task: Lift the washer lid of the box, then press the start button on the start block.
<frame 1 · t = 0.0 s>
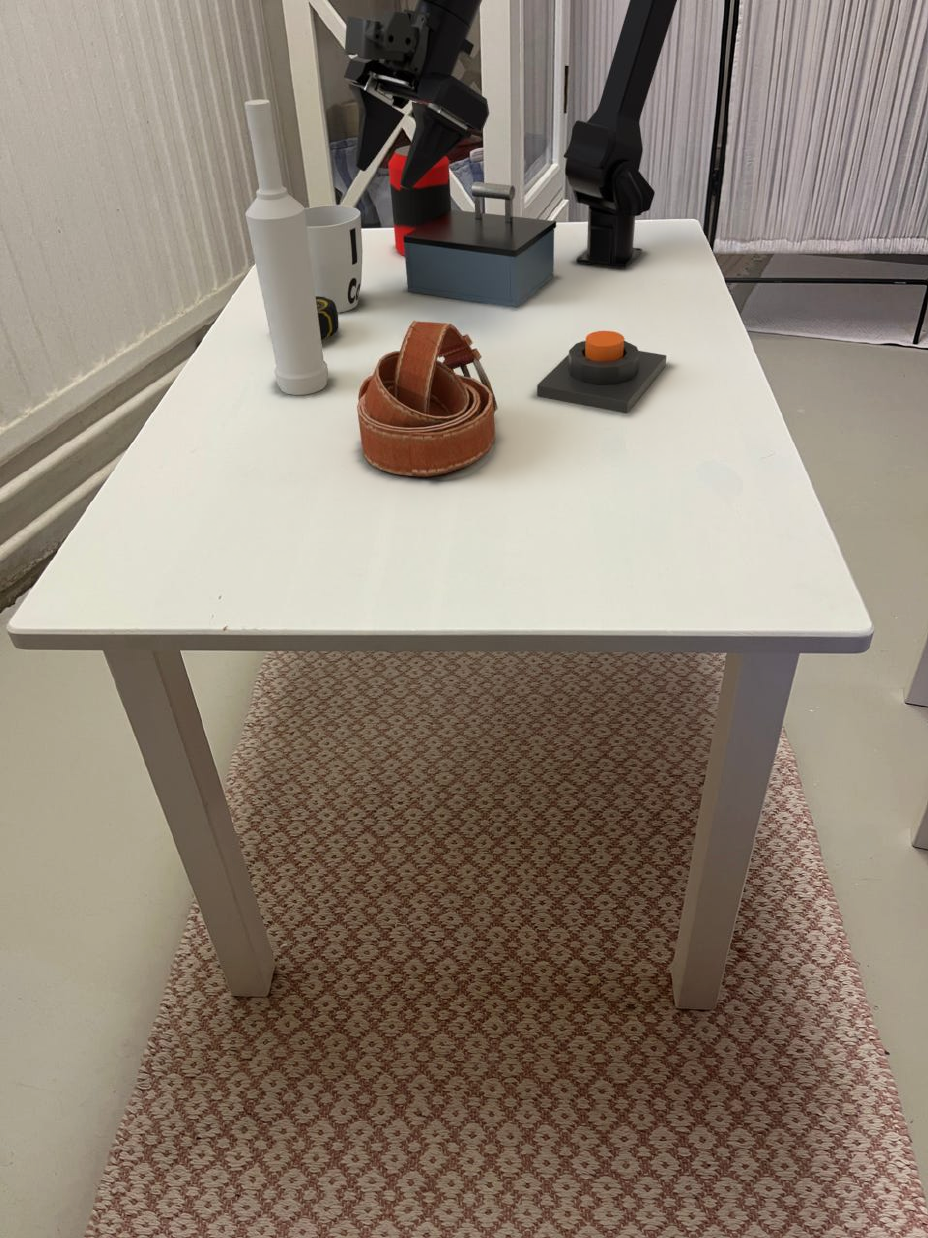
hand: (381, 178, 94), 15 cm above the table, tool tilted 35°, fingers open, 9 cm apart
tape measure: (305, 337, 102), on the table
washer lid: (479, 213, 106), point 8 cm above the table, hinge at 0.0°
box: (481, 284, 111), on the table
soda can: (424, 250, 123), on the table
start block: (602, 381, 90), on the table
start button: (604, 346, 88), point 3 cm above the table, slide at 0.1 cm
cup: (335, 306, 109), on the table
bottle: (303, 386, 92), on the table
belt: (426, 441, 82), on the table
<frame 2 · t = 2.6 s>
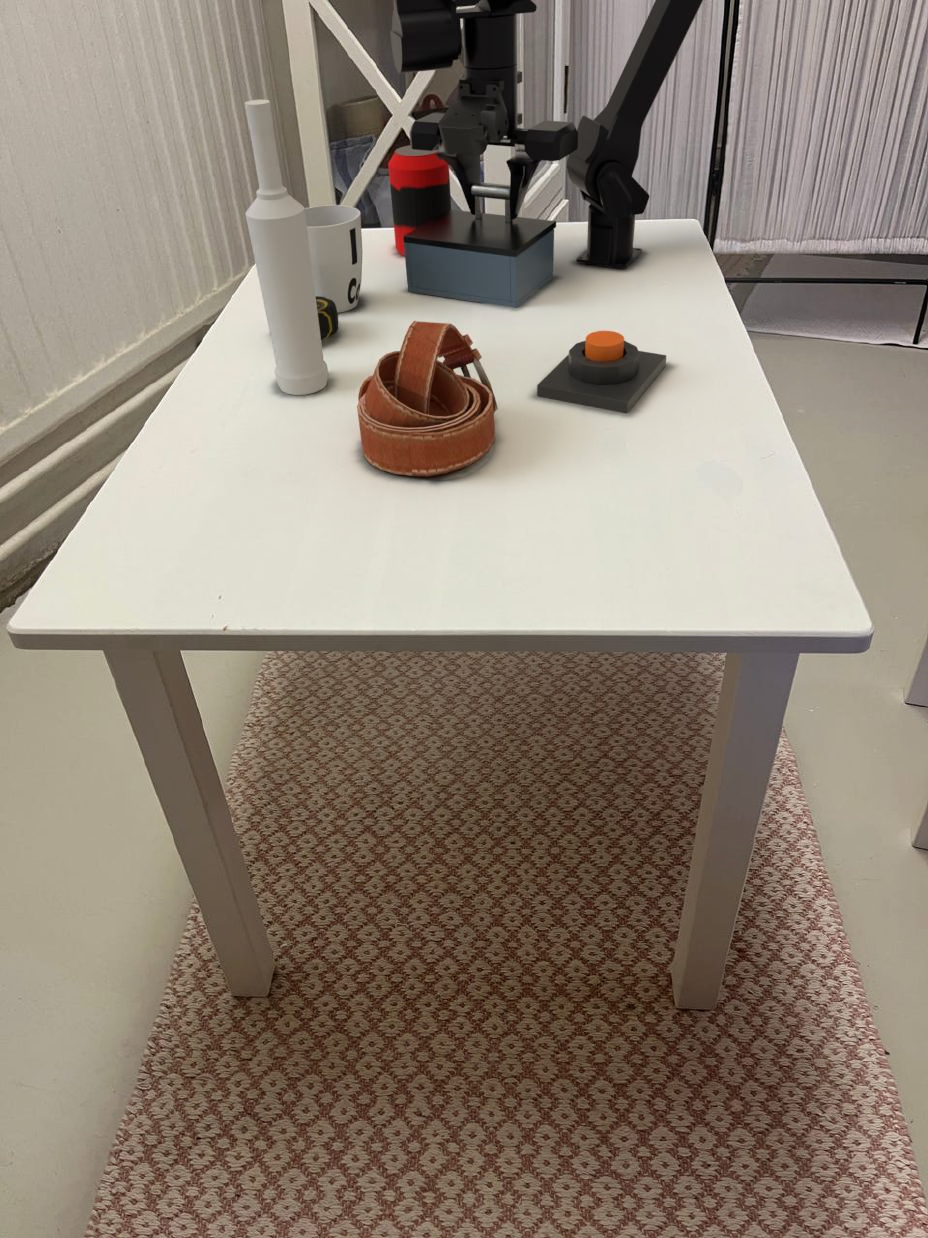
hand: (494, 216, 110), 7 cm above the table, tool pointing down, fingers closed on washer lid, 5 cm apart
washer lid: (479, 213, 106), point 8 cm above the table, hinge at 0.0°, touching gripper
everything else where it was.
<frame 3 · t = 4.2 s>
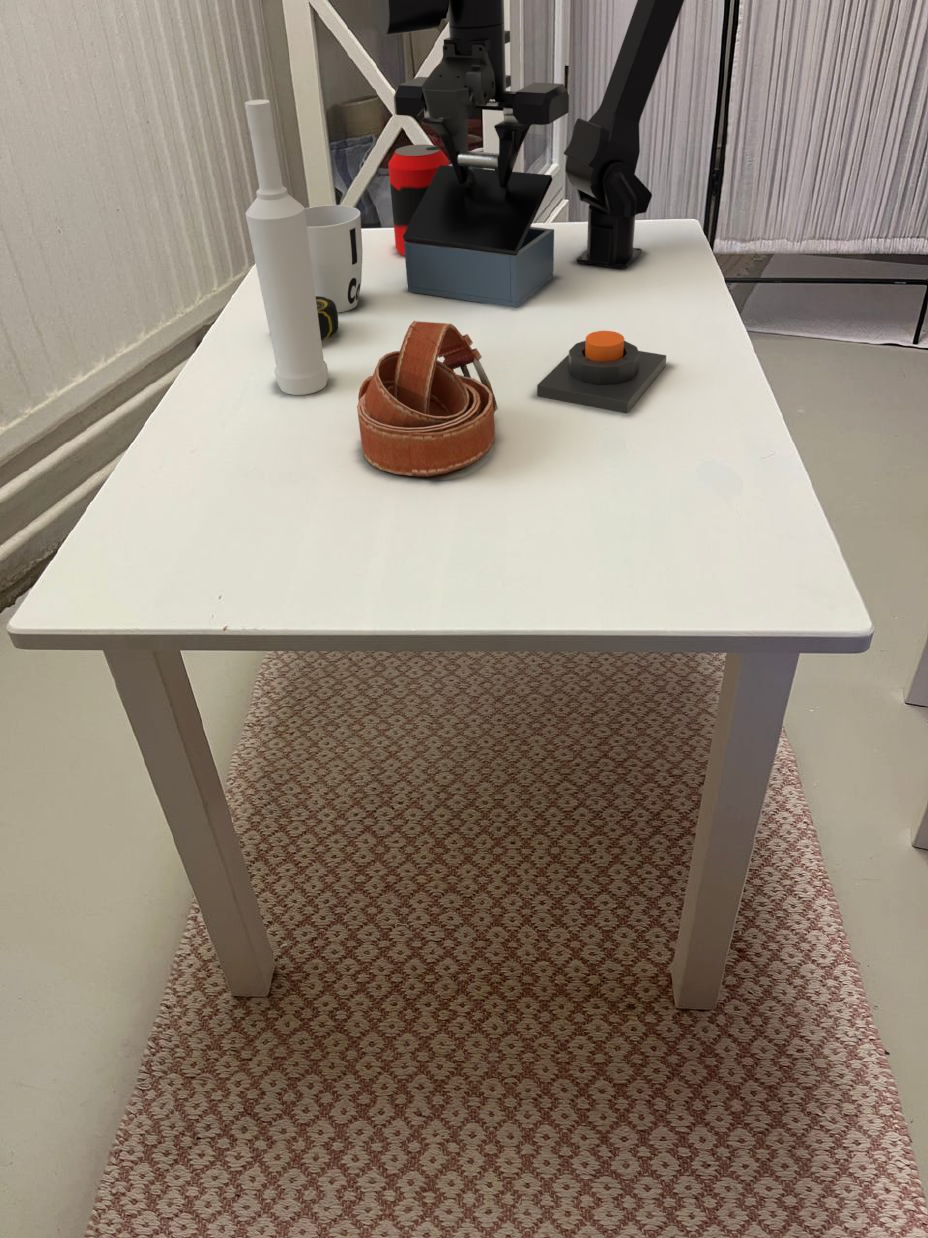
hand: (483, 184, 105), 11 cm above the table, tool pointing down, fingers closed on washer lid, 5 cm apart
washer lid: (472, 194, 104), point 11 cm above the table, hinge at 29.8°, touching gripper
everything else where it was.
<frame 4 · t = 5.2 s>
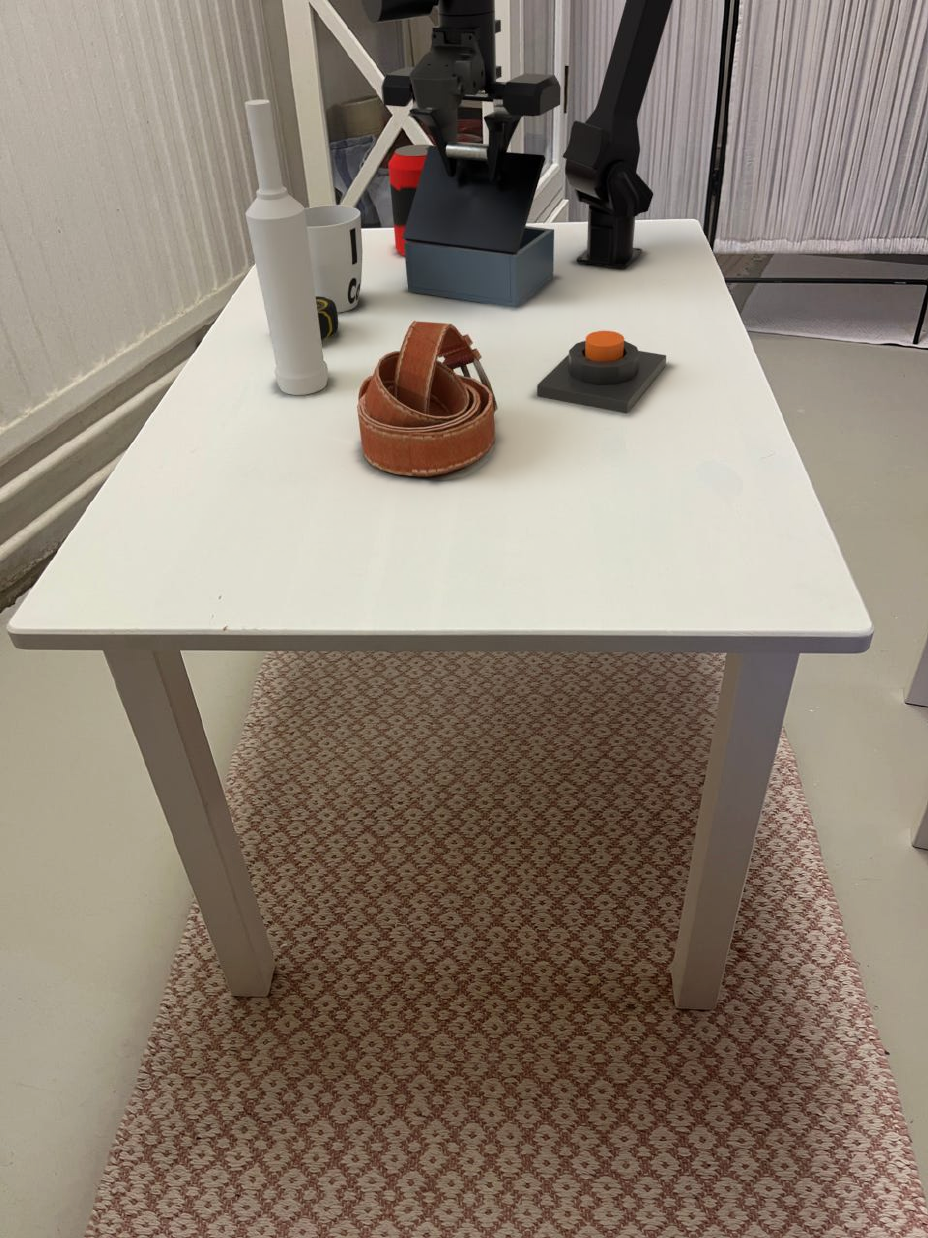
hand: (472, 178, 103), 12 cm above the table, tool pointing down, fingers closed on washer lid, 5 cm apart
washer lid: (465, 189, 102), point 11 cm above the table, hinge at 47.3°, touching gripper
everything else where it was.
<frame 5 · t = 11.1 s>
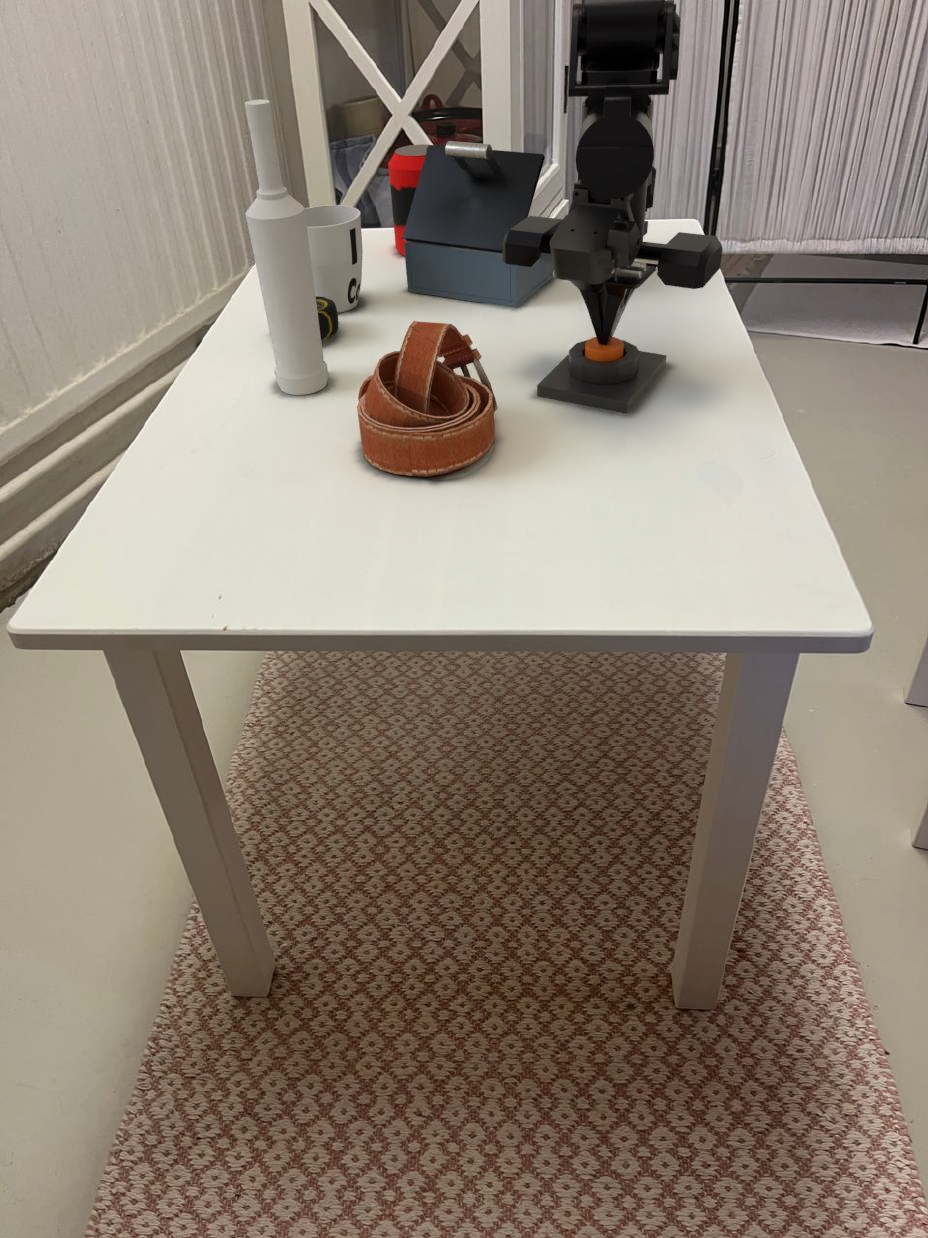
hand: (604, 343, 87), 4 cm above the table, tool pointing down, fingers closed, pressing on start button
washer lid: (465, 189, 102), point 12 cm above the table, hinge at 48.3°
start button: (604, 352, 88), point 3 cm above the table, slide at -0.4 cm, touching gripper
everything else where it was.
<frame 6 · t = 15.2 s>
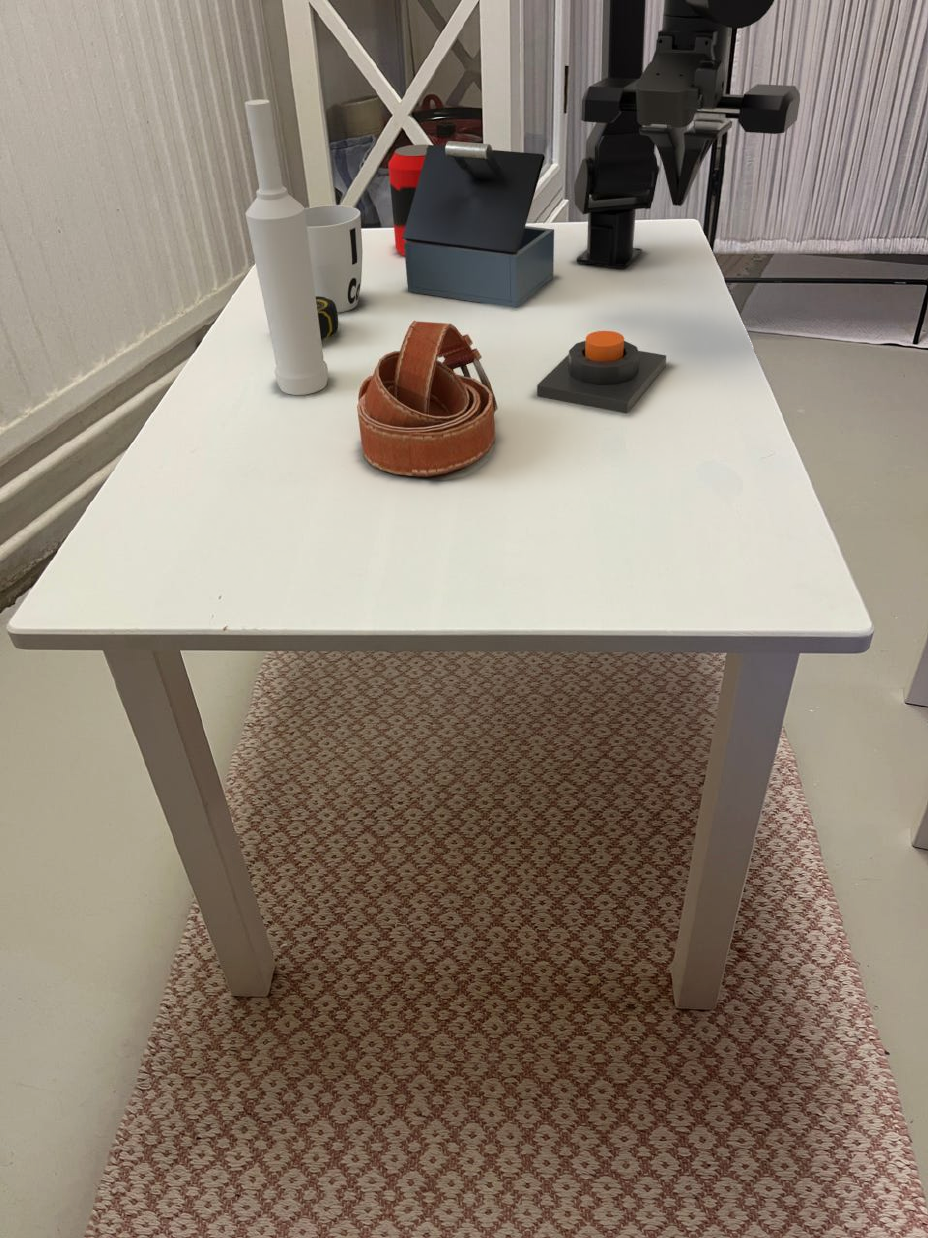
hand: (678, 204, 89), 13 cm above the table, tool pointing down, fingers closed
start button: (604, 346, 88), point 3 cm above the table, slide at 0.1 cm
everything else where it was.
at the end: washer lid at +48° (first picture: +0°); start button pushed in 1.1 cm at the most during the clip, back to where it started at the end; start button slide at 0.1 cm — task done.
